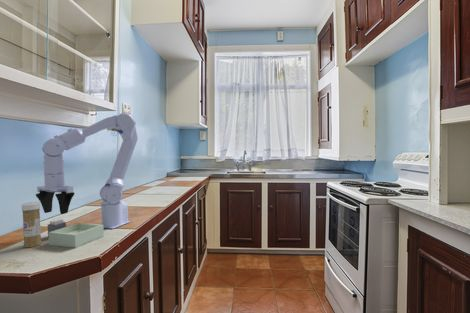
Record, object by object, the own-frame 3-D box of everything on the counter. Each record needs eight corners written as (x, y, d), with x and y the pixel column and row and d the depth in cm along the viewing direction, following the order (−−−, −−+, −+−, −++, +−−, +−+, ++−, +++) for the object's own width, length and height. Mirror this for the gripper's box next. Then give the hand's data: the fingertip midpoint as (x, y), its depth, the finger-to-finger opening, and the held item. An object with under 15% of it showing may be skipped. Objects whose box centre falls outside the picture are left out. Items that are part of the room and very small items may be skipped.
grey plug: (59, 234, 96) (58, 218, 96) (66, 234, 95) (65, 219, 95) (48, 237, 92) (47, 221, 92) (55, 238, 91) (54, 222, 91)
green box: (79, 234, 95) (78, 222, 95) (103, 236, 92) (103, 224, 92) (49, 244, 85) (48, 232, 85) (75, 248, 81) (75, 234, 81)
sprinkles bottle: (19, 248, 83) (17, 204, 82) (31, 242, 87) (29, 201, 87) (34, 247, 82) (32, 204, 82) (45, 242, 87) (43, 201, 87)
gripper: (27, 175, 91) (29, 214, 92) (59, 175, 87) (60, 216, 87) (47, 173, 98) (49, 209, 99) (77, 173, 94) (79, 211, 94)
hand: (56, 212), depth 93 cm, fingers open, 7 cm apart
